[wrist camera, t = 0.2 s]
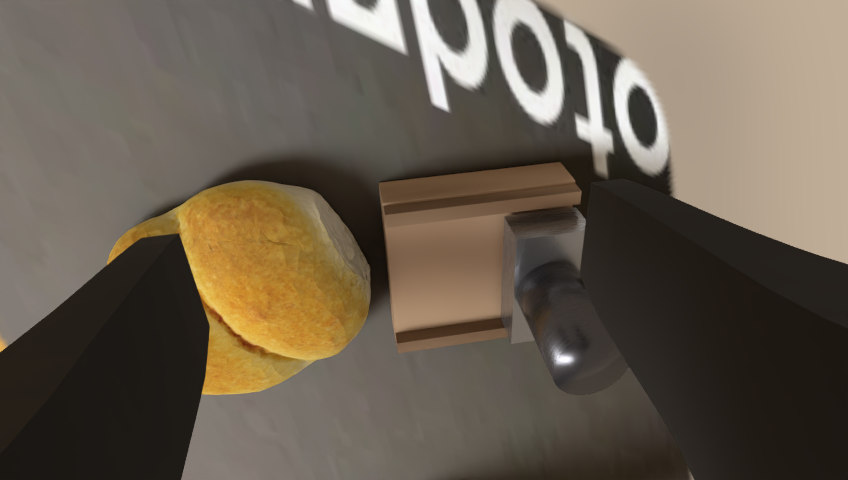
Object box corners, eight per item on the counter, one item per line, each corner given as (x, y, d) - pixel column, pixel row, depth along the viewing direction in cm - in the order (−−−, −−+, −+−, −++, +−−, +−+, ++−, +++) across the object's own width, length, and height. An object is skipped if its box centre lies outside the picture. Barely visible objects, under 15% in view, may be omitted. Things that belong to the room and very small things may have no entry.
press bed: (547, 297, 25) (565, 330, 23) (392, 319, 24) (398, 354, 23) (560, 161, 21) (581, 188, 20) (378, 182, 21) (384, 212, 19)
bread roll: (67, 253, 21) (21, 328, 17) (286, 133, 19) (281, 189, 16) (216, 388, 25) (201, 468, 22) (399, 296, 24) (414, 366, 21)
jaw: (564, 308, 23) (622, 411, 19) (500, 317, 23) (544, 424, 18) (576, 207, 20) (646, 300, 16) (503, 216, 20) (556, 312, 16)
